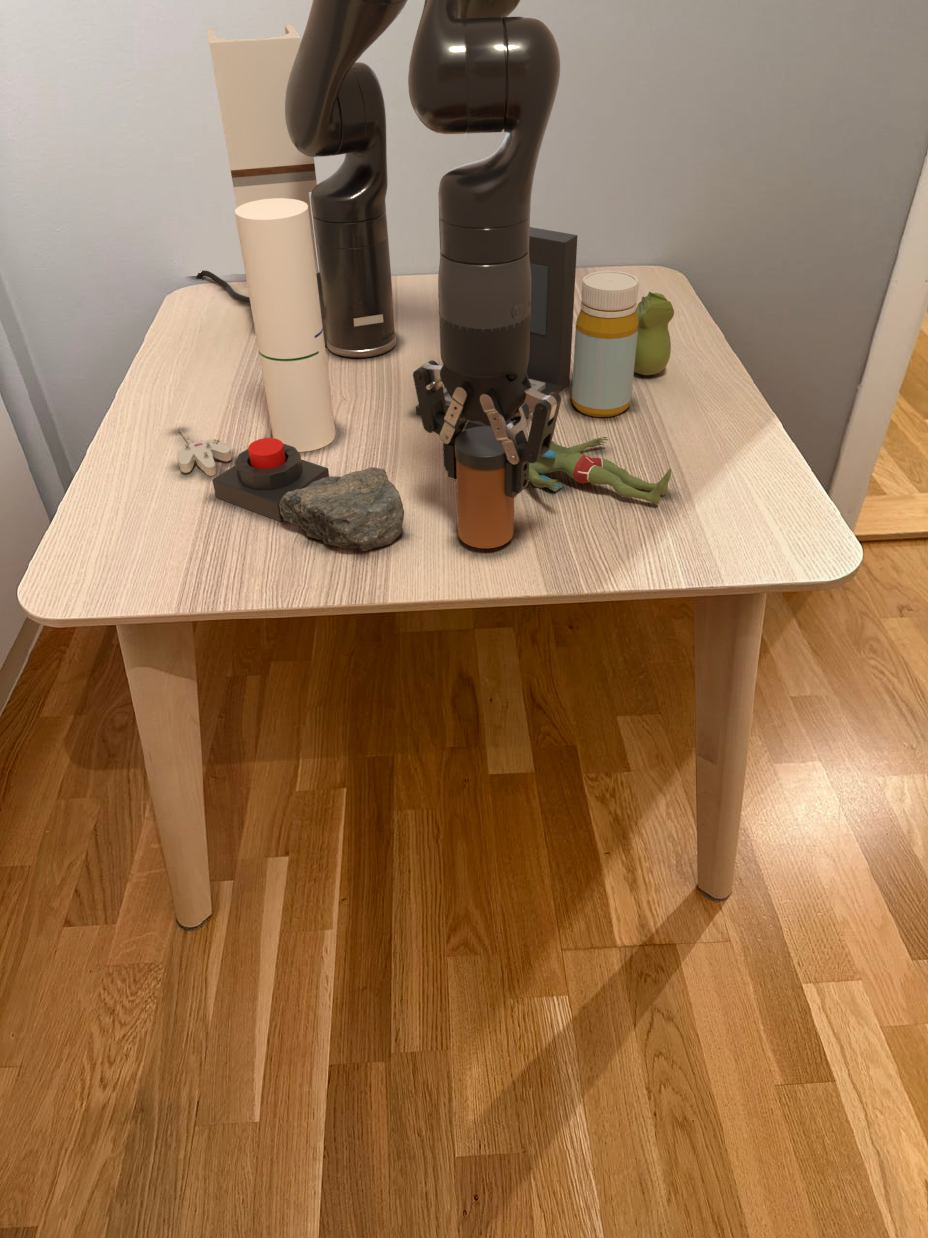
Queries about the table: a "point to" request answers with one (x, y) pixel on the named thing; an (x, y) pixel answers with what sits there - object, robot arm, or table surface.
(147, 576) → the table surface
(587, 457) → the figurine
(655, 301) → the pear
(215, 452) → the game controller
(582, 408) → the bottle
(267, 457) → the button
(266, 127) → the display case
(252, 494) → the control block
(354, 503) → the rock
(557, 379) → the coffee maker
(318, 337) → the cylindrical container
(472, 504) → the orange canister with lid
